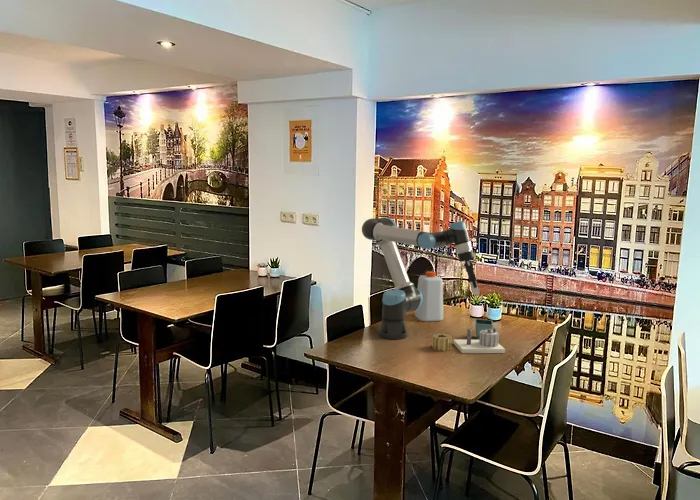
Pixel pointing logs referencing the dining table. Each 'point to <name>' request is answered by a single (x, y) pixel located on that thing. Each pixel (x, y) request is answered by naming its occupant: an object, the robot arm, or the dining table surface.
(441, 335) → the brass gear
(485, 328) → the flower pot
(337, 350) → the dining table surface
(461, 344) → the gear board
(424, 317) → the plastic bottle
